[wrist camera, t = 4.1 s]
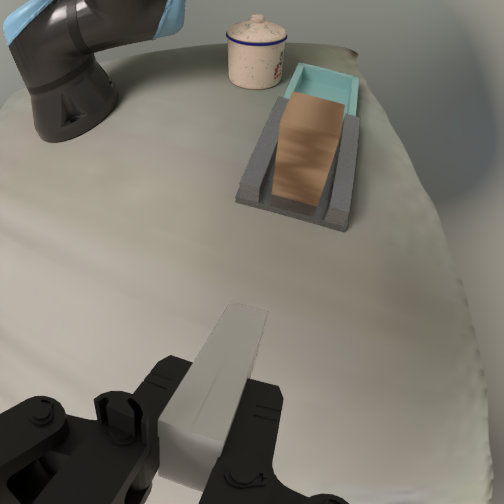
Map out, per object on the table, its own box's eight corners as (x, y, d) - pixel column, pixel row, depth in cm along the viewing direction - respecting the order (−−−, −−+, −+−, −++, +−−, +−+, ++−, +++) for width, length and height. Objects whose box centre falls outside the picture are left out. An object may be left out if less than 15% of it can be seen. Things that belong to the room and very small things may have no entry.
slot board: (235, 202, 33) (234, 181, 30) (272, 115, 40) (274, 95, 37) (344, 232, 32) (353, 214, 29) (356, 137, 39) (363, 118, 36)
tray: (279, 117, 40) (281, 100, 37) (297, 76, 46) (298, 62, 43) (350, 135, 39) (355, 119, 36) (354, 91, 45) (359, 77, 42)
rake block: (271, 194, 33) (280, 121, 24) (282, 162, 35) (292, 91, 26) (317, 206, 32) (340, 136, 23) (324, 173, 34) (345, 104, 25)
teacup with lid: (287, 91, 43) (294, 26, 33) (227, 92, 43) (226, 26, 32) (276, 58, 49) (280, 3, 38) (226, 59, 48) (224, 3, 38)
